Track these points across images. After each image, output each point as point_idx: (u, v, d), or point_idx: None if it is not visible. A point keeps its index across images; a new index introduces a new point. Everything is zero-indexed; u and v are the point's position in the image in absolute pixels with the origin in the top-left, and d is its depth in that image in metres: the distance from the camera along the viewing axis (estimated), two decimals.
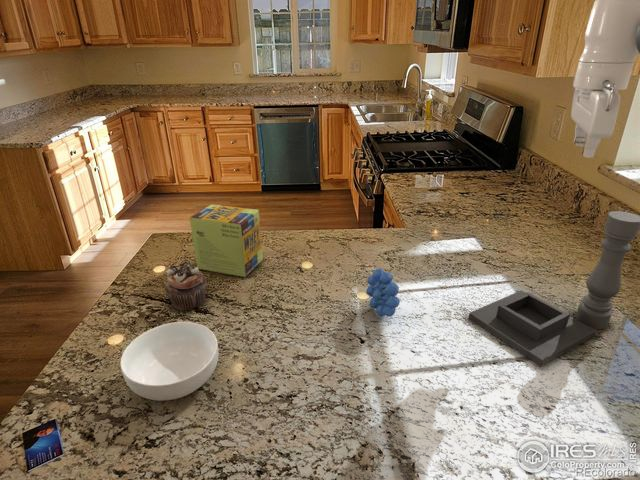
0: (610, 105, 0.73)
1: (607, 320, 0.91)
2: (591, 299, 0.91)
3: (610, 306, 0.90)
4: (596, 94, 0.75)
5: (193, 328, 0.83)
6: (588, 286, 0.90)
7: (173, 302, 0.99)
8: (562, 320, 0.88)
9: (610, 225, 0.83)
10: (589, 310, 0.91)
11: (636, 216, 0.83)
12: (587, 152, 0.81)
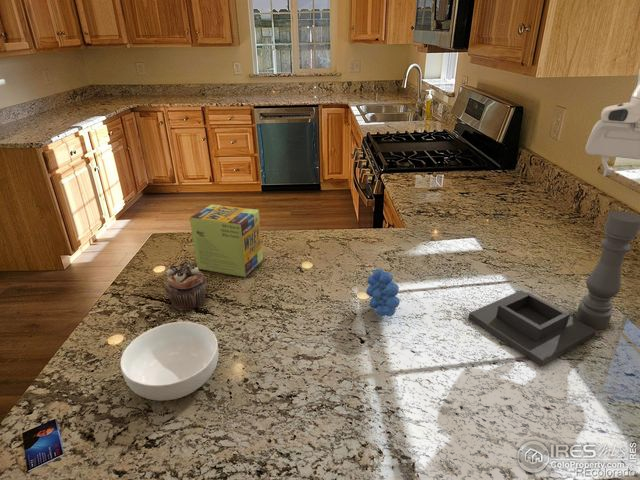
0: None
1: (607, 320, 0.91)
2: (591, 299, 0.91)
3: (610, 306, 0.90)
4: None
5: (193, 328, 0.83)
6: (588, 286, 0.90)
7: (173, 302, 0.99)
8: (562, 320, 0.88)
9: (610, 225, 0.83)
10: (589, 310, 0.91)
11: (636, 216, 0.83)
12: None
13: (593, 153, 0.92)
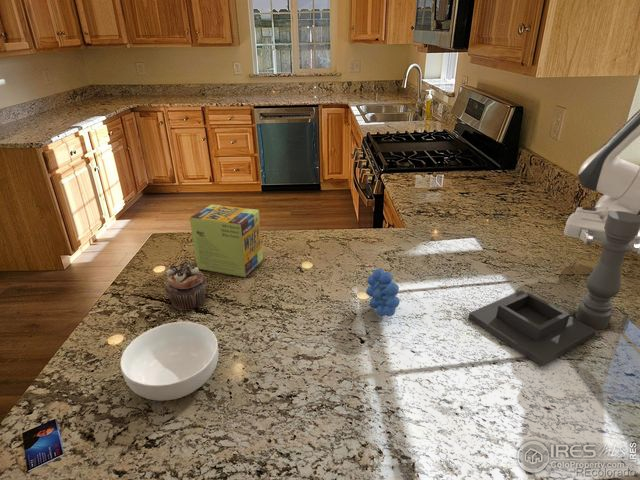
0: None
1: (607, 320, 0.91)
2: (591, 299, 0.91)
3: (610, 306, 0.90)
4: None
5: (193, 328, 0.83)
6: (588, 286, 0.90)
7: (173, 302, 0.99)
8: (562, 320, 0.88)
9: (610, 225, 0.83)
10: (589, 310, 0.91)
11: (636, 216, 0.83)
12: None
13: (574, 224, 1.04)
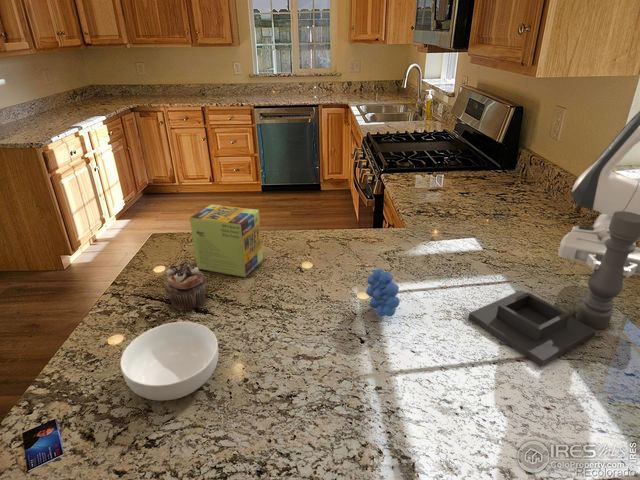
0: None
1: (607, 320, 0.91)
2: (592, 299, 0.91)
3: (611, 306, 0.90)
4: None
5: (193, 328, 0.83)
6: (590, 286, 0.90)
7: (173, 302, 0.99)
8: (562, 320, 0.88)
9: (615, 225, 0.83)
10: (589, 310, 0.91)
11: None
12: None
13: (569, 245, 0.95)
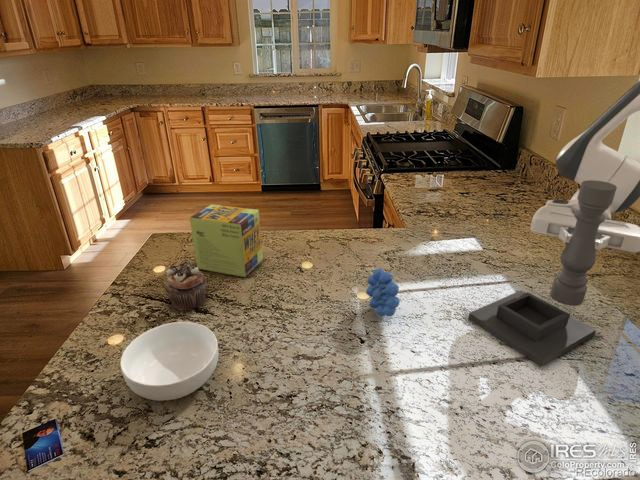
0: None
1: (582, 296, 0.87)
2: (565, 274, 0.87)
3: (585, 281, 0.86)
4: (629, 223, 0.88)
5: (193, 328, 0.83)
6: (562, 260, 0.86)
7: (173, 302, 0.99)
8: (562, 320, 0.88)
9: (583, 194, 0.79)
10: (563, 286, 0.87)
11: (610, 185, 0.79)
12: (602, 244, 0.83)
13: (541, 218, 0.91)
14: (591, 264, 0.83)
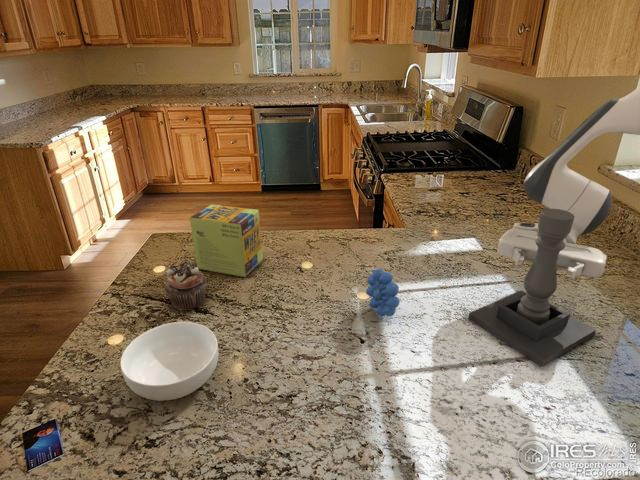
0: (605, 261, 0.88)
1: (544, 321, 0.88)
2: (528, 299, 0.88)
3: (547, 306, 0.87)
4: (592, 247, 0.90)
5: (193, 328, 0.83)
6: (525, 286, 0.88)
7: (173, 302, 0.99)
8: (562, 320, 0.88)
9: (542, 223, 0.81)
10: (526, 311, 0.89)
11: (568, 214, 0.81)
12: (575, 272, 0.83)
13: (507, 242, 0.92)
14: (552, 290, 0.85)
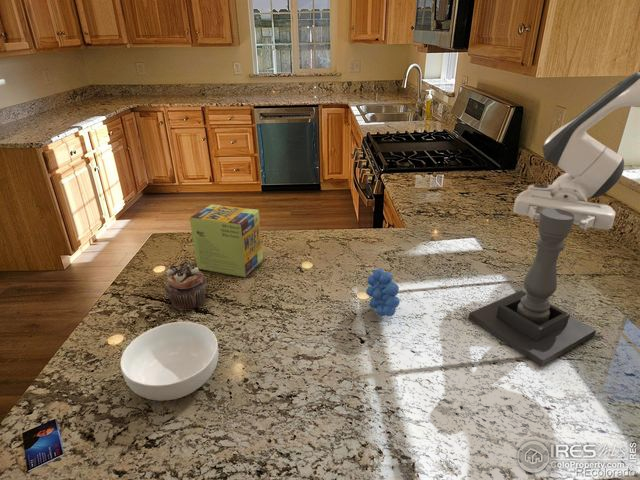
0: None
1: (544, 321, 0.88)
2: (528, 299, 0.88)
3: (547, 306, 0.87)
4: (602, 204, 0.97)
5: (193, 328, 0.83)
6: (525, 286, 0.88)
7: (173, 302, 0.99)
8: (562, 320, 0.88)
9: (542, 223, 0.81)
10: (526, 311, 0.89)
11: (569, 214, 0.81)
12: (587, 223, 0.90)
13: (522, 200, 1.00)
14: (552, 290, 0.85)
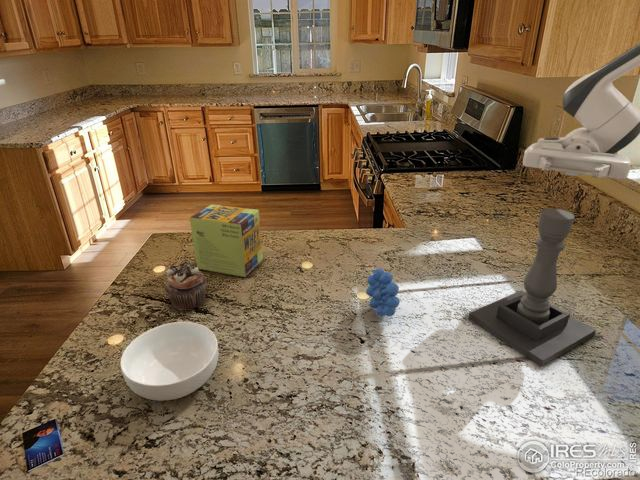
0: None
1: (544, 321, 0.88)
2: (528, 299, 0.88)
3: (547, 306, 0.87)
4: (617, 154, 0.92)
5: (193, 328, 0.83)
6: (525, 286, 0.88)
7: (173, 302, 0.99)
8: (562, 320, 0.88)
9: (542, 223, 0.81)
10: (526, 311, 0.89)
11: (569, 214, 0.81)
12: (602, 171, 0.85)
13: (533, 152, 0.95)
14: (552, 290, 0.85)
